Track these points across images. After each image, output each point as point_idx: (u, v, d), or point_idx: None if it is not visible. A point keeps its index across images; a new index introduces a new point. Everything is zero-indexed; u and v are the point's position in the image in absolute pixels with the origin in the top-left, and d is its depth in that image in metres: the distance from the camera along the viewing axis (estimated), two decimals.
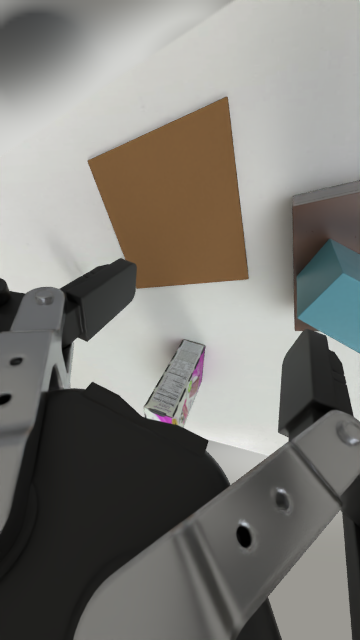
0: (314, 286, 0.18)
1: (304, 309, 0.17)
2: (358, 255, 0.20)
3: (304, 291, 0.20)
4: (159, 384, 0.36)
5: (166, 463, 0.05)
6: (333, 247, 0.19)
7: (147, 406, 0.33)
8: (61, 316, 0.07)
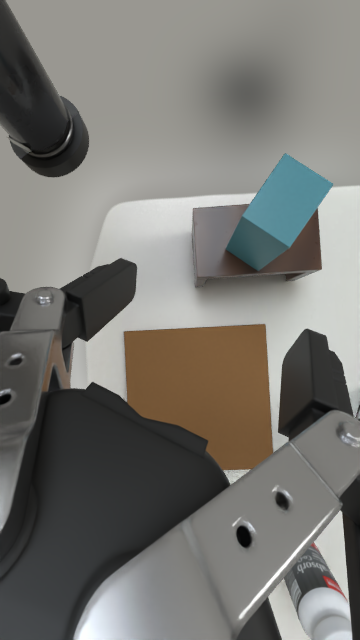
0: (258, 241, 0.20)
1: (279, 241, 0.18)
2: None
3: (266, 252, 0.21)
4: None
5: (166, 463, 0.05)
6: None
7: None
8: (61, 316, 0.07)
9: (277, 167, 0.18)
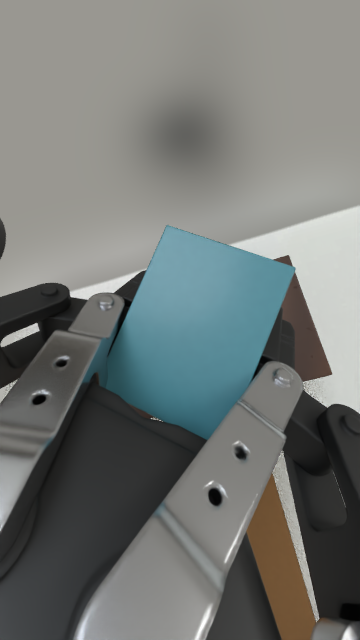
0: None
1: None
2: None
3: None
4: None
5: (166, 463, 0.05)
6: None
7: None
8: (115, 324, 0.07)
9: (155, 259, 0.08)
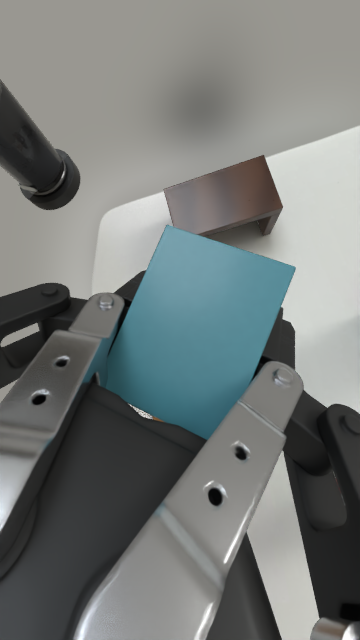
0: None
1: None
2: None
3: None
4: None
5: (166, 463, 0.05)
6: None
7: None
8: (115, 324, 0.07)
9: (155, 258, 0.08)
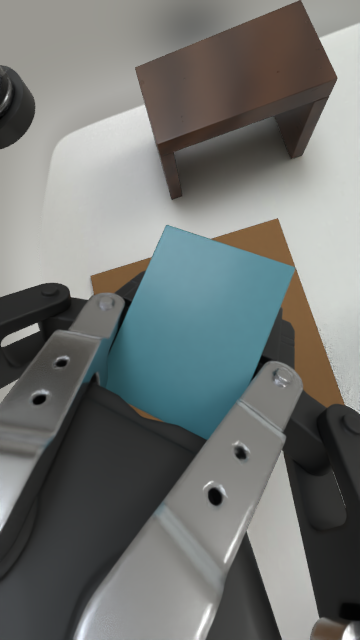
0: None
1: None
2: None
3: None
4: None
5: (166, 463, 0.05)
6: None
7: None
8: (115, 324, 0.07)
9: (155, 258, 0.08)
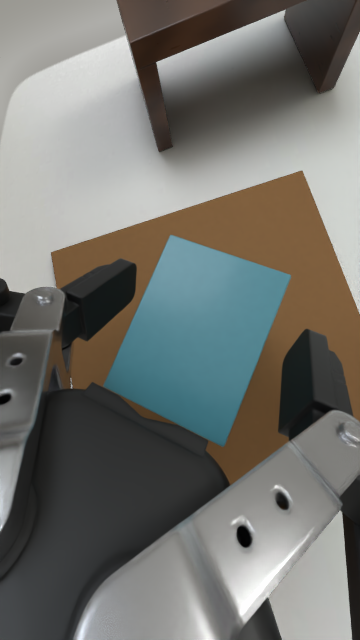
0: None
1: (196, 433, 0.07)
2: None
3: None
4: None
5: (166, 463, 0.05)
6: None
7: None
8: (61, 316, 0.07)
9: (159, 266, 0.08)
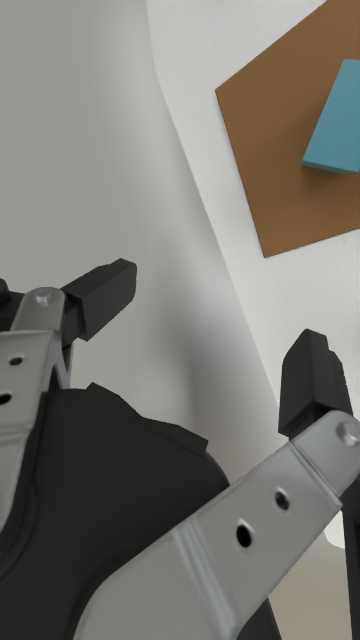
0: (328, 167, 0.20)
1: (345, 170, 0.19)
2: None
3: (340, 171, 0.21)
4: None
5: (166, 463, 0.05)
6: (301, 163, 0.24)
7: None
8: (61, 316, 0.07)
9: (335, 84, 0.17)
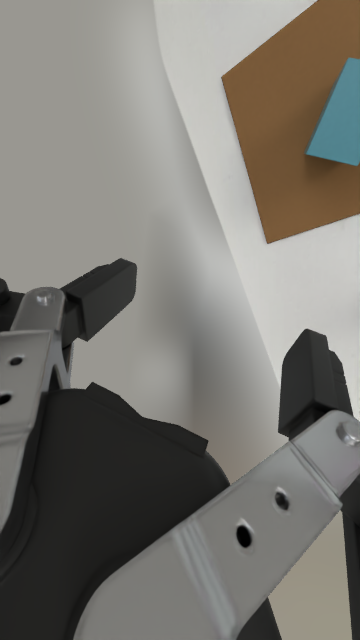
0: None
1: (346, 163, 0.20)
2: (317, 122, 0.25)
3: None
4: None
5: (166, 463, 0.05)
6: (304, 153, 0.25)
7: None
8: (61, 316, 0.07)
9: (339, 81, 0.18)
